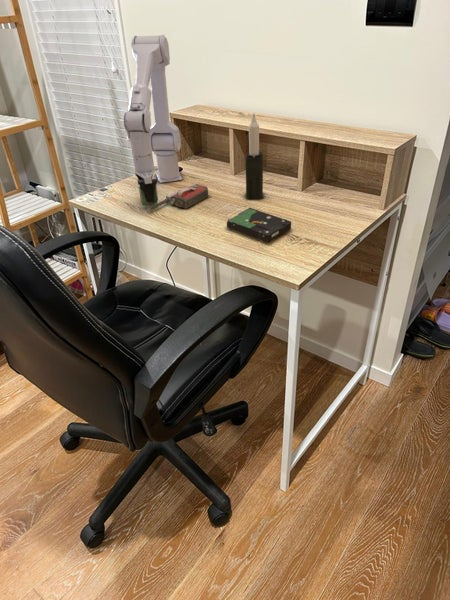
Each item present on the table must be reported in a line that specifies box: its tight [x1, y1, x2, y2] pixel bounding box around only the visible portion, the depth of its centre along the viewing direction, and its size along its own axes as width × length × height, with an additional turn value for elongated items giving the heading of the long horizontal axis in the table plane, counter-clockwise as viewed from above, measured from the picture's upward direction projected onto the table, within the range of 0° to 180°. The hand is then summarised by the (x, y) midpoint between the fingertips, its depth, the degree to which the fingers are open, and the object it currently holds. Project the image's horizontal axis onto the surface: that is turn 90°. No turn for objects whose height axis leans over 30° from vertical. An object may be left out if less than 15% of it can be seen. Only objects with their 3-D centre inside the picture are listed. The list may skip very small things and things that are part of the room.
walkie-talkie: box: [149, 183, 209, 211], centre depth 140 cm, size 9×4×20 cm
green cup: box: [138, 185, 159, 206], centre depth 139 cm, size 5×5×5 cm
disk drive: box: [226, 207, 292, 244], centre depth 124 cm, size 10×3×15 cm
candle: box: [244, 112, 264, 200], centre depth 136 cm, size 5×5×25 cm
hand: (149, 198), depth 140 cm, fingers closed on green cup, 5 cm apart
